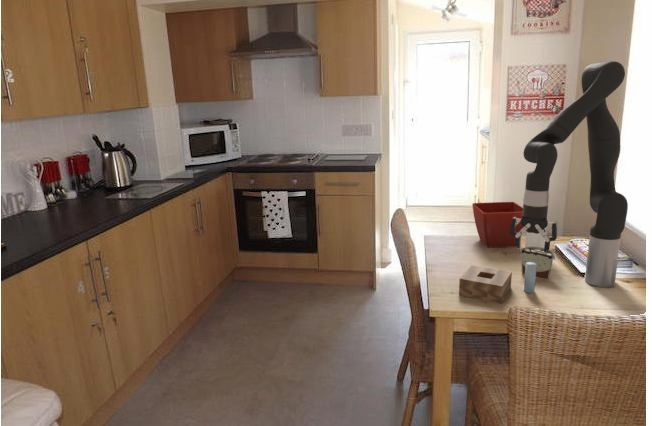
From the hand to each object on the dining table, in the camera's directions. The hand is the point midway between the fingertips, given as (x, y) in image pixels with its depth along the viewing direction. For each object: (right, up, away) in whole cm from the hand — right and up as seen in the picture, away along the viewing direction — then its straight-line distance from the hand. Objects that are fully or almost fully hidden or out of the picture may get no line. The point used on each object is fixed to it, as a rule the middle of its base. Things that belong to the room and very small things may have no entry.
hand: (531, 249), depth 160 cm
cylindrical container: (+18, -5, +38) cm, 42 cm away
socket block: (-14, -15, +5) cm, 21 cm away
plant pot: (+8, -1, +54) cm, 55 cm away
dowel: (+1, -15, +4) cm, 15 cm away
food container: (+10, -11, +17) cm, 23 cm away
